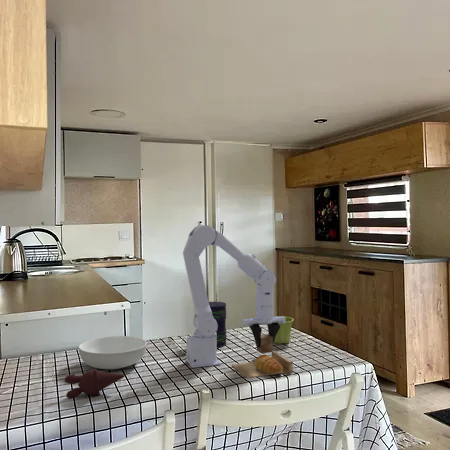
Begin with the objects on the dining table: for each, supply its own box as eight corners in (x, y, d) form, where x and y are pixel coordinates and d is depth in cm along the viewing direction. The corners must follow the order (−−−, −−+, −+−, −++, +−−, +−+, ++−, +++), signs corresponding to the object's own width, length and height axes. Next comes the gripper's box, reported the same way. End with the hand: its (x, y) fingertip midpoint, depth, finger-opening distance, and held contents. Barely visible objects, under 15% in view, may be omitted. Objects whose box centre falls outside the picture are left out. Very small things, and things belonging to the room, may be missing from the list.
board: (246, 378, 125) (246, 367, 125) (231, 365, 137) (231, 355, 137) (292, 371, 130) (292, 361, 130) (275, 360, 141) (275, 350, 141)
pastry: (288, 372, 128) (288, 360, 128) (271, 377, 125) (270, 364, 125) (268, 364, 136) (268, 352, 136) (251, 368, 133) (251, 356, 133)
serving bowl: (142, 375, 128) (142, 352, 128) (70, 377, 127) (69, 354, 127) (150, 354, 149) (150, 334, 149) (88, 356, 148) (88, 335, 148)
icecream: (121, 361, 121) (64, 372, 116) (124, 362, 114) (63, 374, 109) (125, 387, 119) (67, 400, 114) (127, 390, 112) (65, 403, 108)
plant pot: (297, 340, 165) (297, 317, 165) (287, 346, 157) (287, 322, 157) (275, 337, 170) (275, 315, 170) (264, 343, 162) (264, 319, 162)
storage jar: (195, 342, 163) (195, 303, 163) (218, 339, 168) (218, 300, 168) (207, 349, 155) (207, 307, 155) (231, 345, 159) (231, 304, 159)
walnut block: (261, 353, 142) (261, 338, 142) (256, 350, 145) (256, 335, 145) (272, 352, 143) (272, 337, 143) (267, 348, 147) (267, 334, 147)
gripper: (249, 308, 138) (248, 351, 138) (289, 306, 143) (289, 347, 143) (240, 304, 145) (240, 345, 145) (280, 302, 149) (280, 342, 149)
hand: (264, 346), depth 144 cm, fingers closed on walnut block, 4 cm apart
